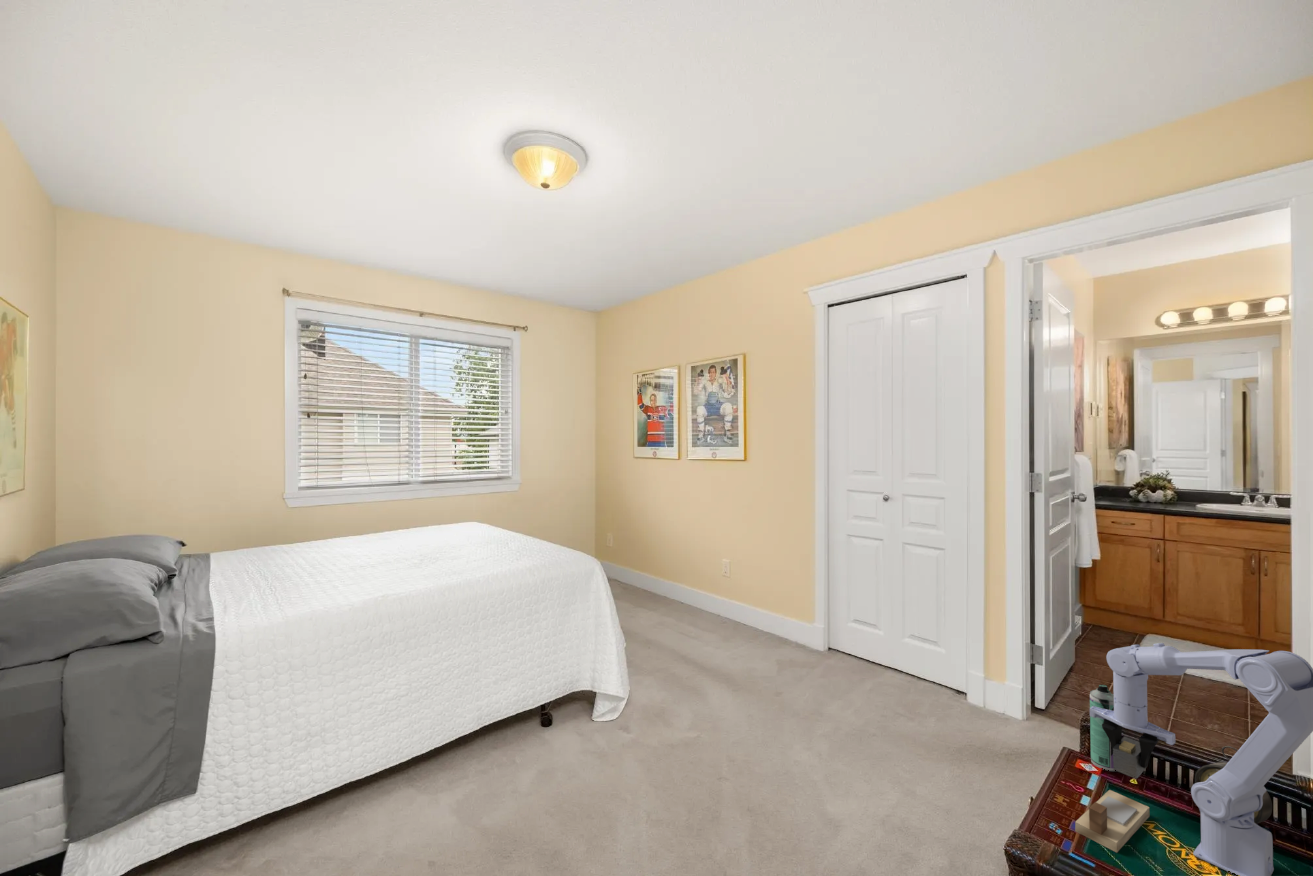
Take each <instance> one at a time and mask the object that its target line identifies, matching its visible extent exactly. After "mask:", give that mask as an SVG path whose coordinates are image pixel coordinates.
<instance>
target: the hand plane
mask: <svg viewBox="0 0 1313 876" xmlns="http://www.w3.org/2000/svg"><path fill="white" fill-rule="evenodd" d="M1149 818H1150V807H1149V806H1148V805H1146V804H1143V803H1140V802H1138V801H1136V800H1134V799H1132V798H1130V797H1127V796H1125V795H1122V794H1121V793H1118V792H1115V791H1114V790H1111V789H1109V790H1107V791H1106V792H1105V793H1104V794H1103V795H1102V796H1101V797H1100V798H1099V799H1098V800H1097V801H1095V802H1094V803H1092V804H1091V805H1090V806H1089V807H1088V809H1087V810H1086V811H1085V812H1084V813H1083V814H1082V815H1081V816H1079V818H1078V819H1077V820H1075V823H1074V826H1075V827H1074V830H1075V832H1076V833H1078V834H1080V835H1082V836H1083V837H1086V838H1087V839H1089V840H1092V841H1094V842H1096V843H1097V844H1099V845H1102V846H1103V847H1104V848H1107V849H1109V850H1110V851H1113V852H1115V853H1119V851H1120V850H1121V849H1122V848H1123V847H1124V845H1125V844H1126V843H1127V842H1129V840H1130V839H1131V838H1132V837H1133V835H1134V834H1136V833H1137V831H1138V830H1139V829H1140V828H1141V826H1142V825H1143V824H1144V823H1145V822H1146V821H1147V820H1148V819H1149Z"/></svg>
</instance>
